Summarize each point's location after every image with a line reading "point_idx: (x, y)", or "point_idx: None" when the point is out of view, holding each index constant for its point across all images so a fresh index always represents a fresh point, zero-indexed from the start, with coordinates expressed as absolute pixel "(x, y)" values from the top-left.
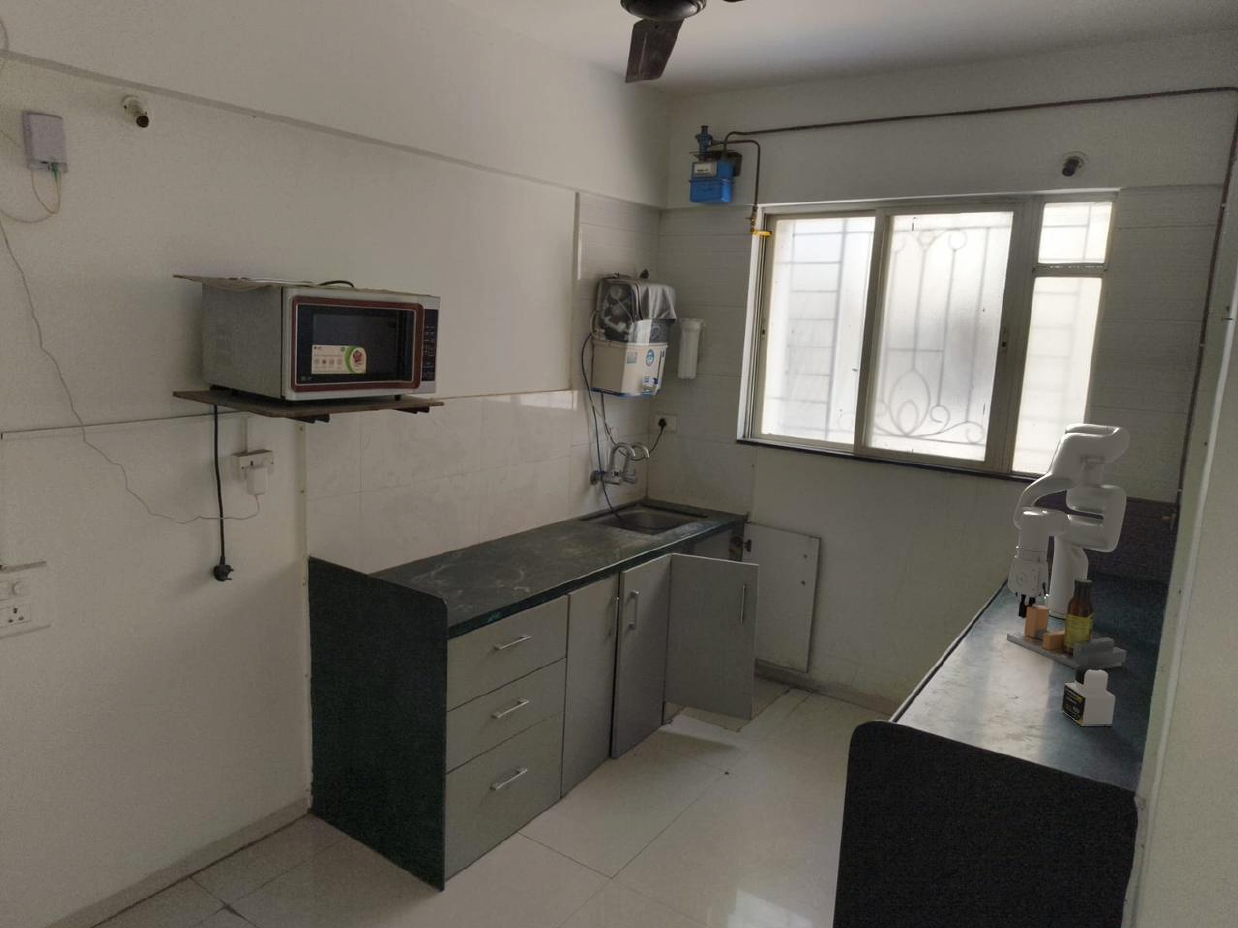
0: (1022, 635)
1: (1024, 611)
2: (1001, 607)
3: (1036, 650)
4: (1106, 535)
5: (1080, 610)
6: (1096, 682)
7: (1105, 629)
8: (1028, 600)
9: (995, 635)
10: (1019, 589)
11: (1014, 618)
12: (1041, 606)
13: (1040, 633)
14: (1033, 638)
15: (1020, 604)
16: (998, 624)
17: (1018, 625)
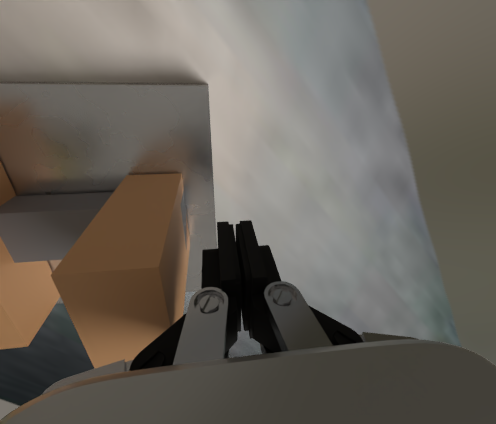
0: (171, 152)
1: (218, 252)
2: (430, 313)
3: (2, 82)
4: None
5: None
6: None
7: None
8: (186, 330)
9: (264, 67)
10: (293, 401)
11: (358, 289)
12: None
13: (94, 204)
14: (124, 173)
15: (256, 271)
16: (351, 200)
17: (311, 259)
